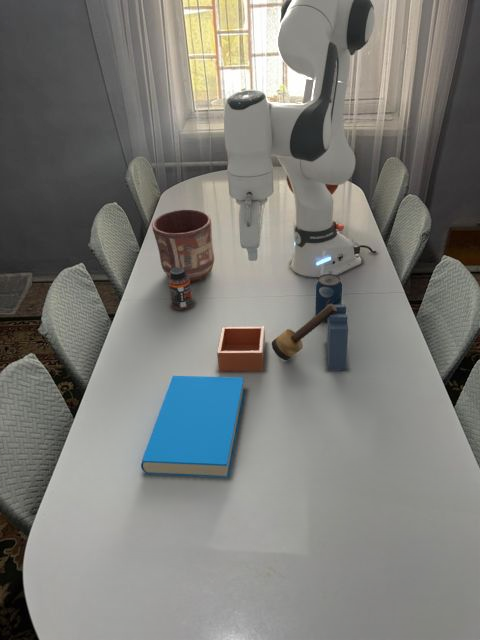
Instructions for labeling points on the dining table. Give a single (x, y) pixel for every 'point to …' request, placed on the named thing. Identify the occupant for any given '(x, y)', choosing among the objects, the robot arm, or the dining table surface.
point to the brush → (299, 335)
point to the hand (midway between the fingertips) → (254, 248)
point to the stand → (337, 338)
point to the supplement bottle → (180, 289)
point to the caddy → (241, 349)
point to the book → (196, 427)
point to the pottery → (185, 242)
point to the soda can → (328, 292)
